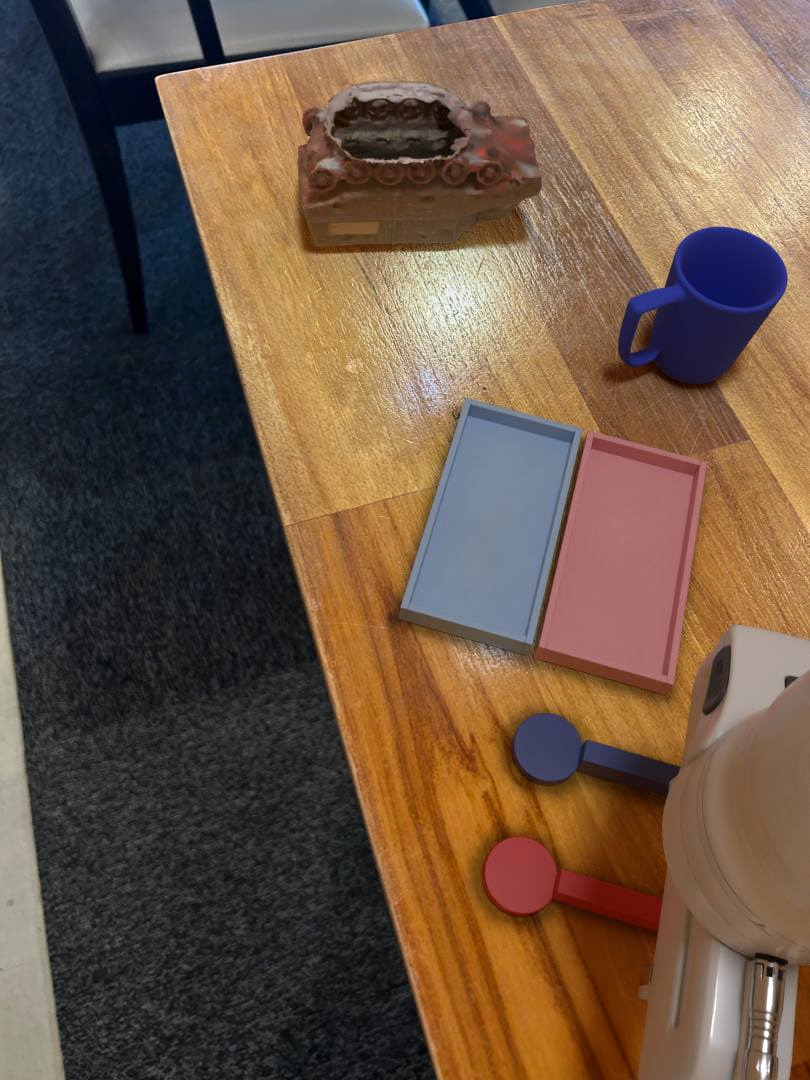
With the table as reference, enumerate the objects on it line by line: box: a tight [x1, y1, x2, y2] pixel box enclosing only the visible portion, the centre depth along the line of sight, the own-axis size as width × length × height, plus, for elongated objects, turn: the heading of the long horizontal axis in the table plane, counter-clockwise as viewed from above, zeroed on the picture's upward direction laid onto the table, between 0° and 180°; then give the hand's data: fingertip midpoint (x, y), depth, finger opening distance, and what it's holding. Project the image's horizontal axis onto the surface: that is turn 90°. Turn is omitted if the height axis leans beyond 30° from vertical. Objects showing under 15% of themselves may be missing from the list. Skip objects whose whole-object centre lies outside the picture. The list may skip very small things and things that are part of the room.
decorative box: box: [296, 79, 543, 248], centre depth 79 cm, size 13×20×10 cm, turn 89°
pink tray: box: [533, 430, 708, 696], centre depth 67 cm, size 9×18×2 cm, turn 164°
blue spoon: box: [510, 712, 681, 798], centre depth 60 cm, size 13×4×2 cm, turn 74°
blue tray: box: [398, 397, 583, 656], centre depth 68 cm, size 9×18×2 cm, turn 164°
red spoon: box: [481, 835, 663, 932], centre depth 56 cm, size 13×4×2 cm, turn 74°
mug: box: [617, 226, 789, 385], centre depth 72 cm, size 8×12×10 cm
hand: (669, 889), depth 49 cm, fingers open, 8 cm apart
